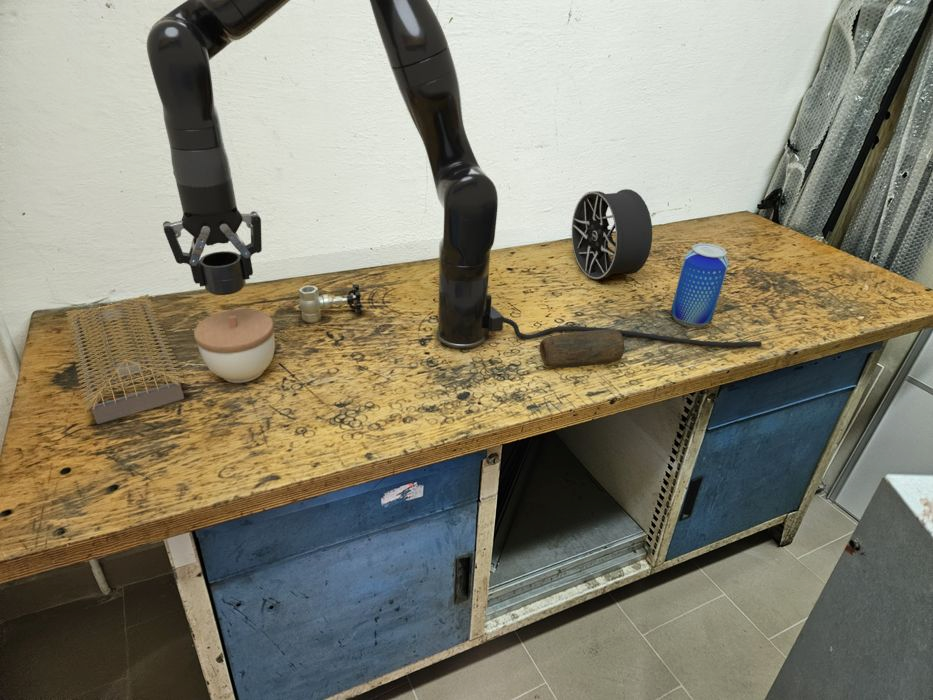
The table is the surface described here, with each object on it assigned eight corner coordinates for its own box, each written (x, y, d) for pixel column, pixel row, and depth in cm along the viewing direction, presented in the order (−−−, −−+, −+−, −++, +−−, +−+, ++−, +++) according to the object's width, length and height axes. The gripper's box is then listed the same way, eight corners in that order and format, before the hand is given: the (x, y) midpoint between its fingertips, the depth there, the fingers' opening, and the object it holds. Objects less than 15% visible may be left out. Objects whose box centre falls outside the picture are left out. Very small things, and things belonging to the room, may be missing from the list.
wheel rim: (567, 258, 150) (577, 180, 139) (598, 254, 153) (611, 177, 142) (608, 293, 134) (624, 208, 123) (642, 288, 137) (660, 205, 126)
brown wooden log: (606, 348, 114) (612, 318, 111) (623, 368, 109) (630, 338, 105) (534, 357, 111) (537, 327, 107) (548, 378, 105) (552, 347, 101)
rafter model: (191, 399, 96) (183, 368, 93) (91, 429, 90) (78, 397, 86) (152, 309, 121) (144, 282, 117) (71, 327, 114) (60, 299, 110)
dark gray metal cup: (242, 276, 98) (237, 249, 96) (249, 292, 94) (243, 263, 91) (203, 283, 96) (197, 254, 93) (208, 299, 91) (201, 269, 89)
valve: (302, 327, 117) (363, 320, 120) (298, 298, 113) (360, 291, 116) (300, 311, 122) (358, 305, 125) (296, 283, 119) (356, 277, 122)
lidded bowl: (188, 381, 101) (173, 325, 95) (238, 345, 111) (227, 293, 105) (248, 400, 97) (236, 343, 91) (294, 361, 107) (287, 308, 101)
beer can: (712, 315, 127) (733, 246, 119) (708, 333, 121) (730, 261, 112) (672, 306, 130) (690, 238, 121) (666, 323, 124) (684, 252, 115)
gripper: (149, 189, 79) (178, 299, 89) (259, 178, 85) (275, 283, 94) (147, 174, 85) (174, 278, 94) (250, 165, 91) (266, 264, 100)
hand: (224, 280), depth 94 cm, fingers closed on dark gray metal cup, 6 cm apart
